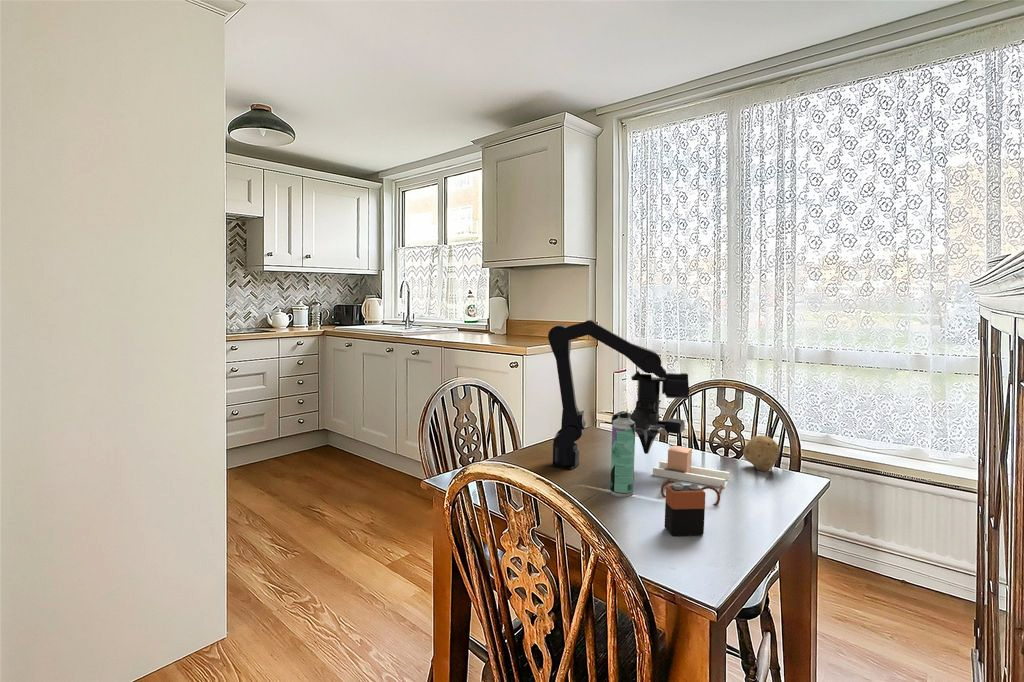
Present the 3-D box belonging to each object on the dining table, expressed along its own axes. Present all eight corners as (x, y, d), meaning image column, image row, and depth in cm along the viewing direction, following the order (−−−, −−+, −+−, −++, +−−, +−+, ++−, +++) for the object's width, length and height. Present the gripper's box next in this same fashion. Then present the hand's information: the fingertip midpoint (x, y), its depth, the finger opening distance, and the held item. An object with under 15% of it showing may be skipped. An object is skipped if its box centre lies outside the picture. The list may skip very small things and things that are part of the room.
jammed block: (667, 476, 144) (668, 450, 144) (671, 470, 149) (672, 445, 148) (686, 479, 142) (687, 453, 141) (690, 474, 146) (691, 448, 146)
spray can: (634, 490, 135) (637, 410, 133) (631, 498, 130) (634, 415, 128) (612, 487, 137) (614, 408, 135) (608, 495, 131) (610, 413, 130)
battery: (663, 527, 113) (665, 480, 113) (695, 527, 114) (697, 480, 113) (671, 537, 109) (673, 488, 108) (704, 536, 110) (706, 487, 109)
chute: (652, 477, 145) (653, 466, 145) (659, 469, 151) (660, 459, 151) (724, 489, 136) (724, 478, 136) (729, 481, 142) (729, 471, 142)
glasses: (660, 501, 129) (660, 480, 129) (668, 484, 141) (669, 465, 141) (719, 510, 124) (720, 489, 124) (722, 492, 136) (723, 472, 135)
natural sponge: (738, 471, 151) (740, 435, 150) (747, 463, 158) (748, 429, 157) (774, 478, 146) (776, 441, 145) (781, 470, 153) (783, 435, 152)
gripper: (605, 397, 146) (603, 455, 147) (676, 405, 136) (673, 467, 138) (619, 391, 155) (617, 445, 157) (686, 398, 146) (683, 456, 147)
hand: (646, 453), depth 149 cm, fingers closed
